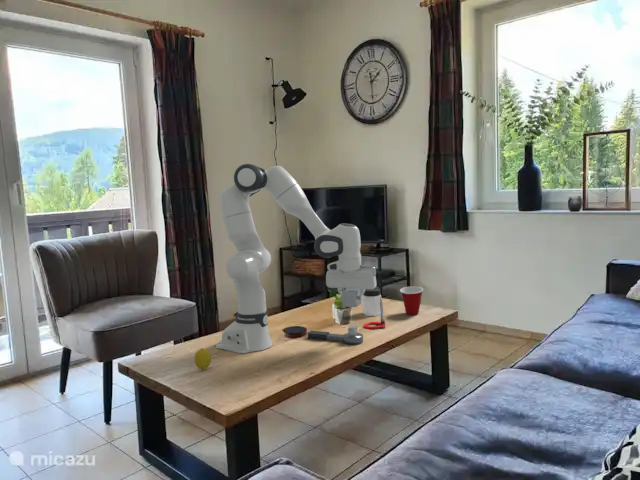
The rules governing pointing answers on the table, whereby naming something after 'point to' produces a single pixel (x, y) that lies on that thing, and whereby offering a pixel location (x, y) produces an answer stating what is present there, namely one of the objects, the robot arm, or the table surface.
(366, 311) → the jar
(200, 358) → the lemon
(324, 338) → the ratchet
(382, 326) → the tow hook
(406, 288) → the plastic cup
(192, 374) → the table surface
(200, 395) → the table surface
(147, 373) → the table surface
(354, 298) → the grey wooden cube
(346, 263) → the robot arm
